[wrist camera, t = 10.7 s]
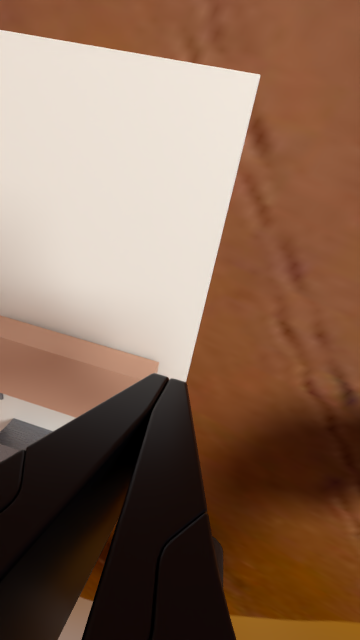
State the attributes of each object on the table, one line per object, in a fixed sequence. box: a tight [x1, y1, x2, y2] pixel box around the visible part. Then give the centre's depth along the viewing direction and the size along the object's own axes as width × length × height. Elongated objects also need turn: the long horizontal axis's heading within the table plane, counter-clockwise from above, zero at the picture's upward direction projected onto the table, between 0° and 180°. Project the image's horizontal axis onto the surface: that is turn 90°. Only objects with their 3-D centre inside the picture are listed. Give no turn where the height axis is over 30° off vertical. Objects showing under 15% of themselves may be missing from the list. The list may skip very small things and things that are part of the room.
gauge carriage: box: [0, 315, 159, 418], centre depth 22 cm, size 15×5×2 cm, turn 79°
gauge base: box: [0, 30, 260, 462], centre depth 21 cm, size 19×31×3 cm, turn 170°
